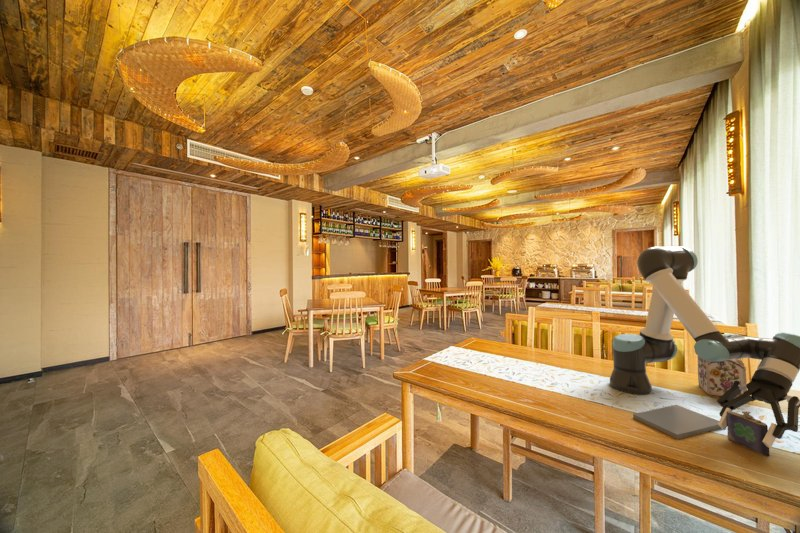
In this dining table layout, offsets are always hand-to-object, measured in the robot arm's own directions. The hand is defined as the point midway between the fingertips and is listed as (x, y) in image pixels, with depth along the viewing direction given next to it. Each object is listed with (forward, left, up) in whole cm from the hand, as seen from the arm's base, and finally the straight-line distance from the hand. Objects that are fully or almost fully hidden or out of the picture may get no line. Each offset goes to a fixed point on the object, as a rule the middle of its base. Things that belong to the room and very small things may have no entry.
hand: (742, 435), depth 88 cm
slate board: (-16, -2, -4) cm, 17 cm away
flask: (0, +2, -4) cm, 5 cm away
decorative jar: (-27, +42, -4) cm, 50 cm away
